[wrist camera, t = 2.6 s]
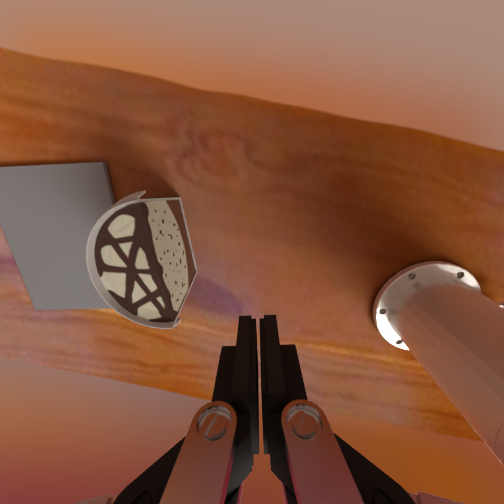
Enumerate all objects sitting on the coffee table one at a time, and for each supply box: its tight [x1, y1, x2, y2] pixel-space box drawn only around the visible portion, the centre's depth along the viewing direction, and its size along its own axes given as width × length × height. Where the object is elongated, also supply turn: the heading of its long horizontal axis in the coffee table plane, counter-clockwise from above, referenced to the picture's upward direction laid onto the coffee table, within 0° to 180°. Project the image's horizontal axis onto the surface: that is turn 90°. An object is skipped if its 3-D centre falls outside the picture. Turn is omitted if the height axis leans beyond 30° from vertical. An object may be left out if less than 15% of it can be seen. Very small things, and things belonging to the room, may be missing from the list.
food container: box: [86, 190, 198, 329], centre depth 24 cm, size 12×6×10 cm, turn 8°
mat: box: [0, 162, 115, 310], centre depth 29 cm, size 14×18×1 cm
